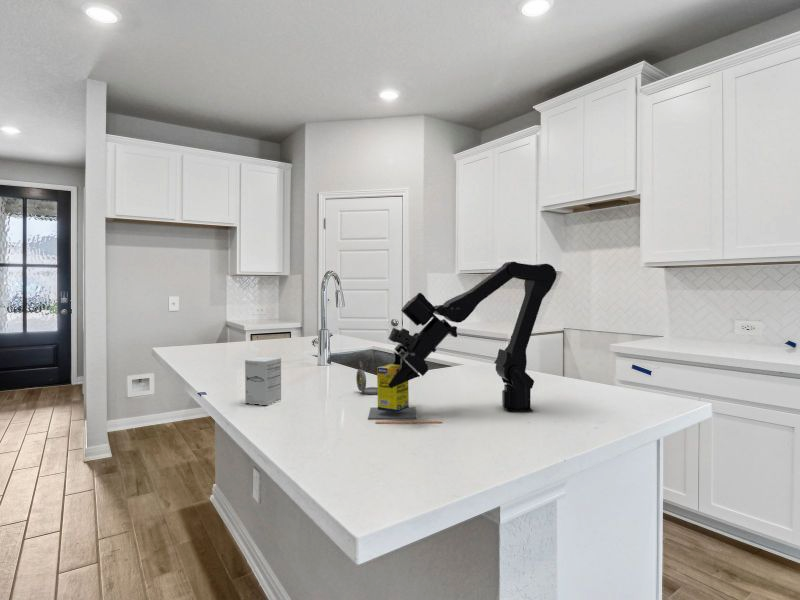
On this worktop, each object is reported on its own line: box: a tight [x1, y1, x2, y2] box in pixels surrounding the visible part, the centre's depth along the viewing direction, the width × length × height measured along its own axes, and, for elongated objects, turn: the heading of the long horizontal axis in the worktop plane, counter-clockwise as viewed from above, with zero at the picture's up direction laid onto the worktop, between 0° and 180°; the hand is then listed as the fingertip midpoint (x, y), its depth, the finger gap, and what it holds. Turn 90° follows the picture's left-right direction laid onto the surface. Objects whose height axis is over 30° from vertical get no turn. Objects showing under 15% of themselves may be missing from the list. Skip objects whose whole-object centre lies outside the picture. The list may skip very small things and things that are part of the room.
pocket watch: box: [355, 360, 378, 395], centre depth 146 cm, size 8×8×10 cm
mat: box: [367, 406, 418, 421], centre depth 122 cm, size 12×10×1 cm
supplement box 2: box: [376, 363, 410, 412], centre depth 121 cm, size 6×6×11 cm
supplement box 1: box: [244, 356, 282, 406], centre depth 135 cm, size 7×7×13 cm
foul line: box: [375, 420, 443, 425], centre depth 114 cm, size 16×1×1 cm, turn 90°
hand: (387, 382), depth 121 cm, fingers closed on supplement box 2, 8 cm apart
